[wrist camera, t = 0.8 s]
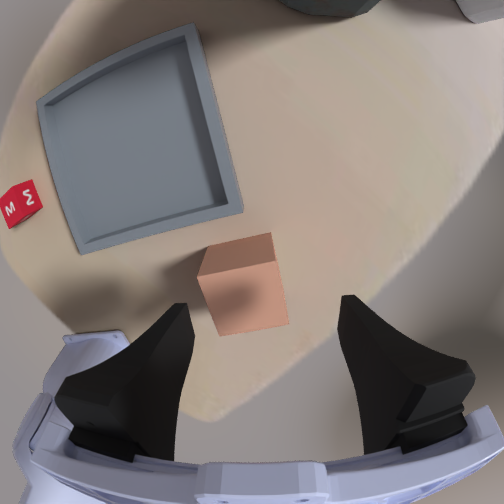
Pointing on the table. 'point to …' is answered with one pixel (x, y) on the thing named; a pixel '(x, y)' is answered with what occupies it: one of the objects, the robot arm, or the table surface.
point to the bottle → (332, 7)
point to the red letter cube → (20, 203)
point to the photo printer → (482, 10)
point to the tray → (139, 143)
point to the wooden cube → (243, 285)
